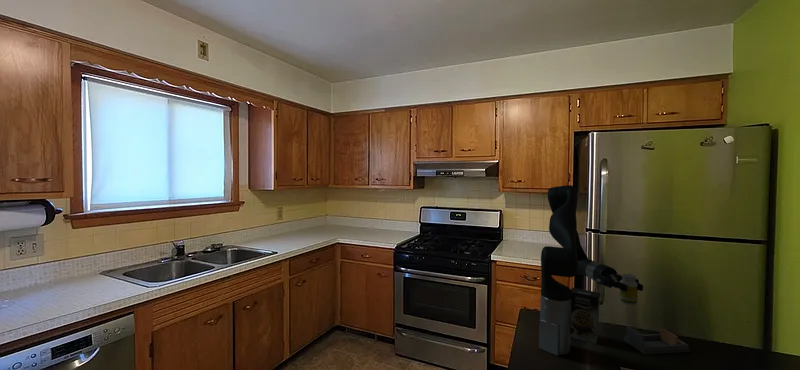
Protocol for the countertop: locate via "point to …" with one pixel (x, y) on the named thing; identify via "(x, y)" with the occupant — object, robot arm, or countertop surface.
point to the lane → (652, 343)
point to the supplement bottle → (629, 290)
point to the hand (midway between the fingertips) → (634, 288)
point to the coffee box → (585, 315)
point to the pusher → (668, 337)
